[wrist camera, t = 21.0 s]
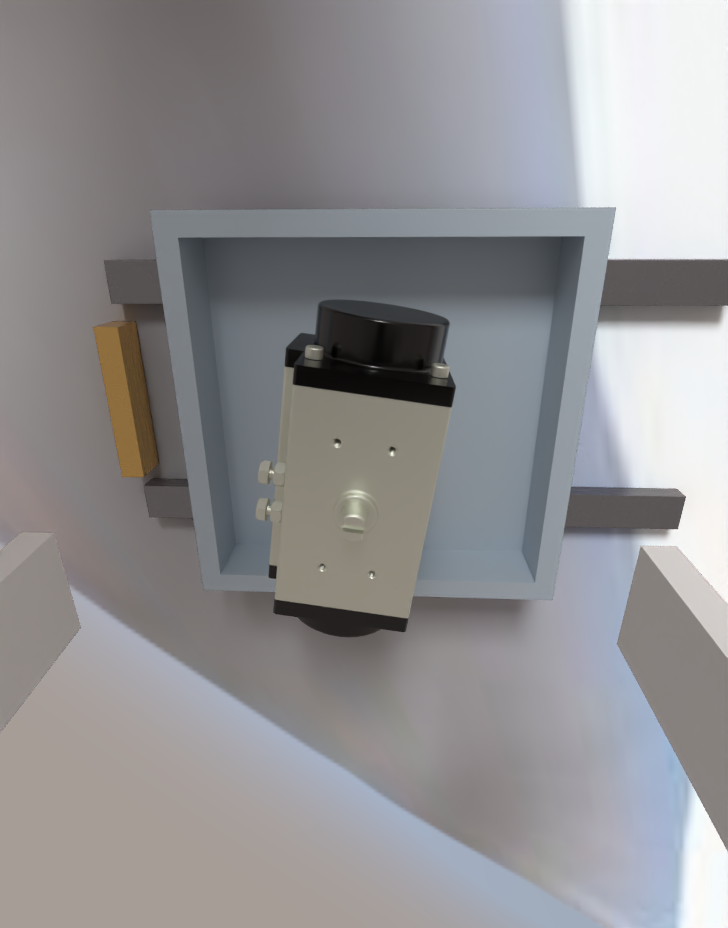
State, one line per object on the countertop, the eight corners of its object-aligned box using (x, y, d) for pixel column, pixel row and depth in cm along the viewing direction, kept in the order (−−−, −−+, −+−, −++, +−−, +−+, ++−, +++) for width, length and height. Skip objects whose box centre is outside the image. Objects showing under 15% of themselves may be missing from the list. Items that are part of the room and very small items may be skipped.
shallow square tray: (184, 214, 25) (149, 210, 21) (583, 212, 24) (616, 207, 20) (224, 551, 32) (203, 590, 28) (534, 559, 31) (552, 600, 27)
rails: (101, 259, 27) (80, 261, 25) (733, 259, 25) (759, 260, 24) (146, 508, 32) (131, 525, 30) (669, 520, 31) (686, 538, 29)
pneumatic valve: (437, 297, 25) (472, 344, 14) (397, 518, 29) (399, 688, 18) (318, 279, 25) (257, 312, 14) (297, 504, 29) (238, 665, 18)
